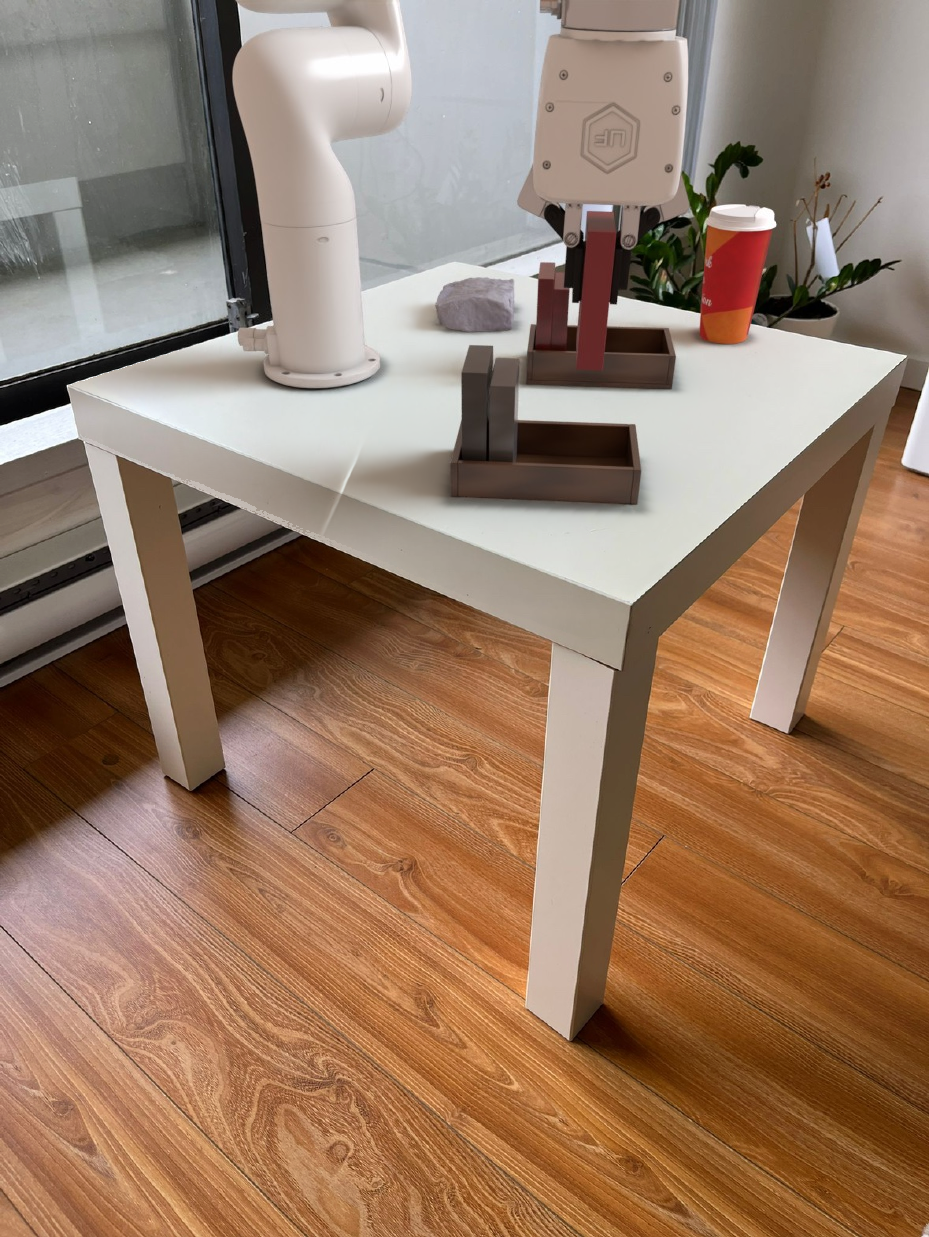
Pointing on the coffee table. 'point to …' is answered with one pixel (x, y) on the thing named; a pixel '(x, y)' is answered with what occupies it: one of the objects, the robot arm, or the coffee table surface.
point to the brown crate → (534, 446)
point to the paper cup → (733, 270)
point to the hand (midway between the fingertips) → (594, 296)
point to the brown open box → (627, 354)
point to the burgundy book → (595, 290)
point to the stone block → (477, 305)
